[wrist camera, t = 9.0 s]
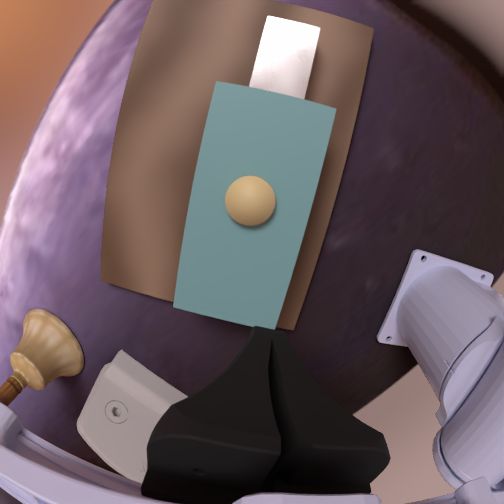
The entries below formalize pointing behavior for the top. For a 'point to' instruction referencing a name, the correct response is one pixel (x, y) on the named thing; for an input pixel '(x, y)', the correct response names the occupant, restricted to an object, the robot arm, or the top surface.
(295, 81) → the link
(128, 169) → the base plate
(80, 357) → the hand bell
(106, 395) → the hinge
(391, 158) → the top surface
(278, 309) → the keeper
